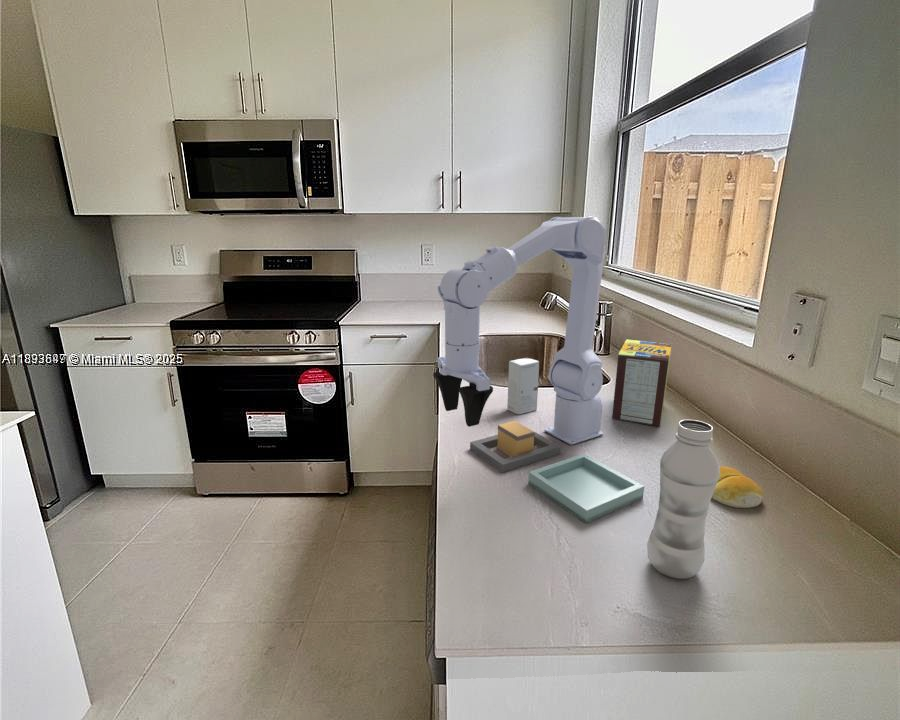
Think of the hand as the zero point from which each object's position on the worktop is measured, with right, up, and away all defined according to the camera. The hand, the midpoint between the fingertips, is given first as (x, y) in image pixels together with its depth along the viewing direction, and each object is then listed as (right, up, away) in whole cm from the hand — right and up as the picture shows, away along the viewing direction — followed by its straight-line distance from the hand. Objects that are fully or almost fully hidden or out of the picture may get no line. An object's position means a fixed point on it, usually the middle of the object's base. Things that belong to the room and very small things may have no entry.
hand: (461, 417), depth 83 cm
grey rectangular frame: (+11, -8, +9) cm, 16 cm away
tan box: (+11, -8, +9) cm, 16 cm away
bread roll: (+44, -12, -5) cm, 46 cm away
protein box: (+43, -2, +29) cm, 51 cm away
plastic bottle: (+27, -17, -22) cm, 39 cm away
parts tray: (+20, -12, -4) cm, 24 cm away
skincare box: (+15, -2, +30) cm, 33 cm away
